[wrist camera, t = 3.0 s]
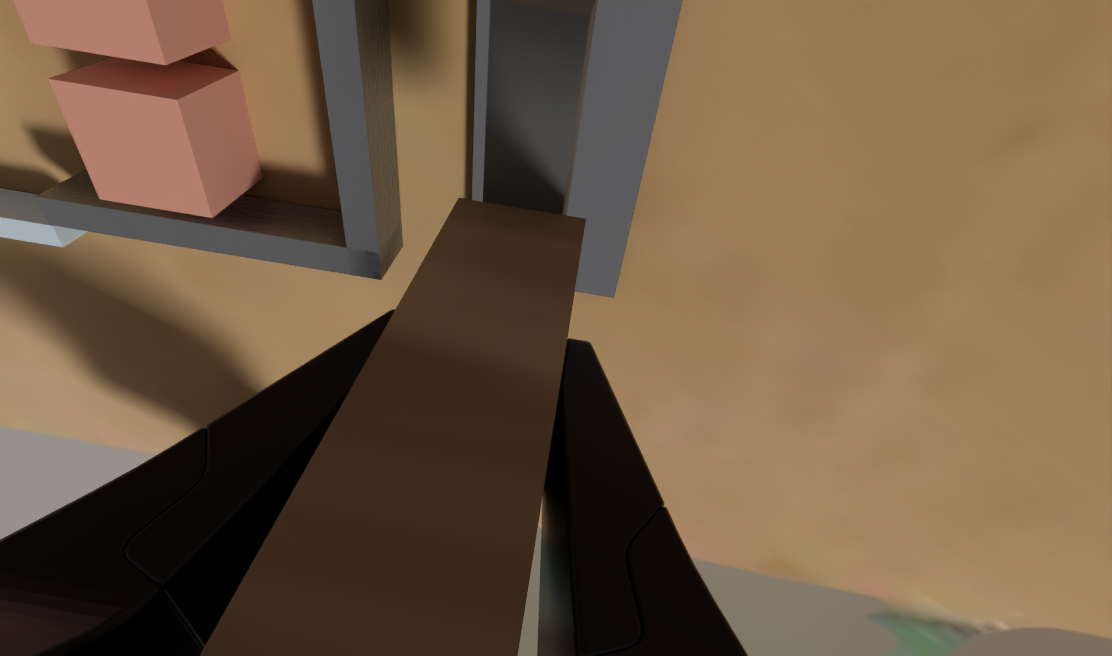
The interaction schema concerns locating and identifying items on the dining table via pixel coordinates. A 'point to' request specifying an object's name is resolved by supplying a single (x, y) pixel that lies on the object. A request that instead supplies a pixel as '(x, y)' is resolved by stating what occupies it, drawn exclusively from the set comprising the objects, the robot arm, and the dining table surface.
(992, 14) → the dining table surface
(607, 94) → the mat
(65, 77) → the salmon pink cube
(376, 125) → the slot channel
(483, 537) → the t-shaped scraper
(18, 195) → the tray
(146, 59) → the dusty rose cube
